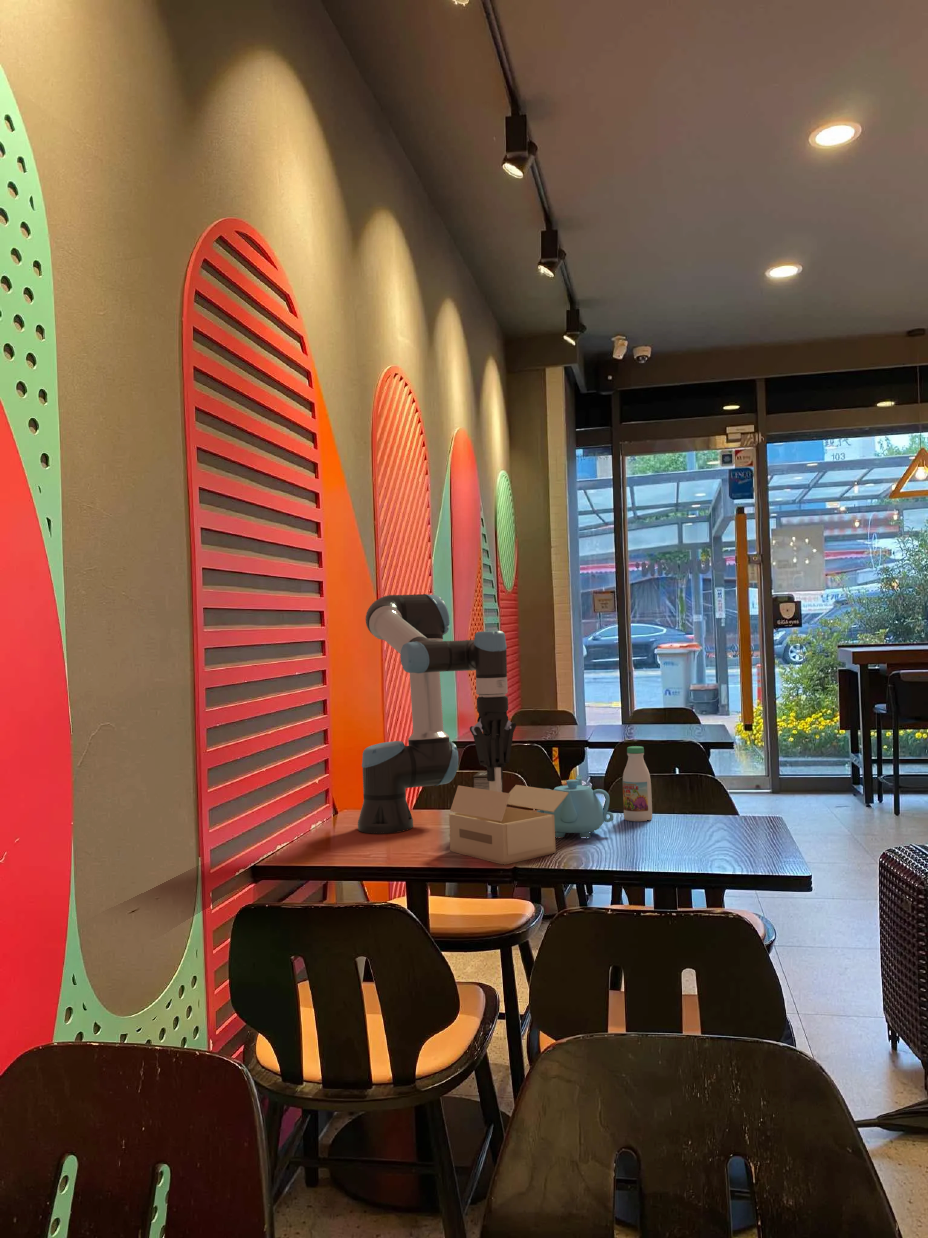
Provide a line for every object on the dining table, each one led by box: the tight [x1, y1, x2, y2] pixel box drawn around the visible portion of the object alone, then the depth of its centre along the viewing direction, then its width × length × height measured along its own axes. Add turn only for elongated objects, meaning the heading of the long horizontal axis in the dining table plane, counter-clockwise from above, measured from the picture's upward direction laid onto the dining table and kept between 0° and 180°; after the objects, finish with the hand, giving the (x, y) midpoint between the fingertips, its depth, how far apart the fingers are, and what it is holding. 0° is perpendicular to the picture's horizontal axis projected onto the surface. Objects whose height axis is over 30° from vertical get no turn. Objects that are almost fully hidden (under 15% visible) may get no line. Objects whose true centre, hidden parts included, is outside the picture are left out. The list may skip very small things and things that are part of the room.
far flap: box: [507, 784, 569, 812], centre depth 232 cm, size 19×1×6 cm
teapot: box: [536, 774, 614, 838], centre depth 243 cm, size 16×20×14 cm
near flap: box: [450, 785, 510, 821], centre depth 222 cm, size 19×1×6 cm, turn 38°
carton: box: [448, 805, 557, 866], centre depth 226 cm, size 21×16×9 cm
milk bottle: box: [622, 745, 653, 822], centre depth 261 cm, size 8×8×20 cm
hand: (495, 794), depth 225 cm, fingers closed
